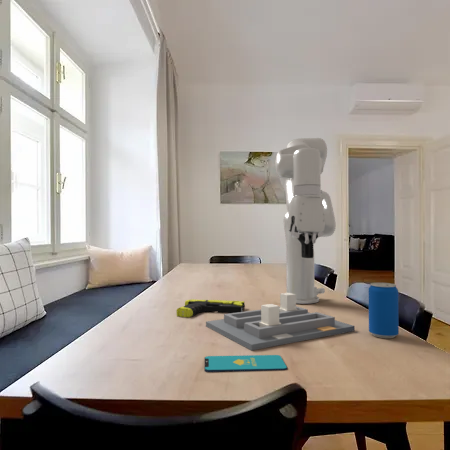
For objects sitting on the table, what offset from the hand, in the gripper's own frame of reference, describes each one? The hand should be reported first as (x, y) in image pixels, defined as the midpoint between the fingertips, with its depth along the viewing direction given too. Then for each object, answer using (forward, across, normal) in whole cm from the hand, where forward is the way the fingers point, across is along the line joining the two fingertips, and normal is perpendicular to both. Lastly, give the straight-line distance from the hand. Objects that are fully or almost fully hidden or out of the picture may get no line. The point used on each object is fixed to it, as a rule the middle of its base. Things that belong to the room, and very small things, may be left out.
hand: (307, 257), depth 106 cm
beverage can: (+17, -4, +22) cm, 28 cm away
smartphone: (+18, +34, +22) cm, 44 cm away
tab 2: (+15, +7, 0) cm, 17 cm away
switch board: (+17, +14, +5) cm, 22 cm away
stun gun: (+18, +21, -20) cm, 34 cm away
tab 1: (+15, +20, +10) cm, 27 cm away
